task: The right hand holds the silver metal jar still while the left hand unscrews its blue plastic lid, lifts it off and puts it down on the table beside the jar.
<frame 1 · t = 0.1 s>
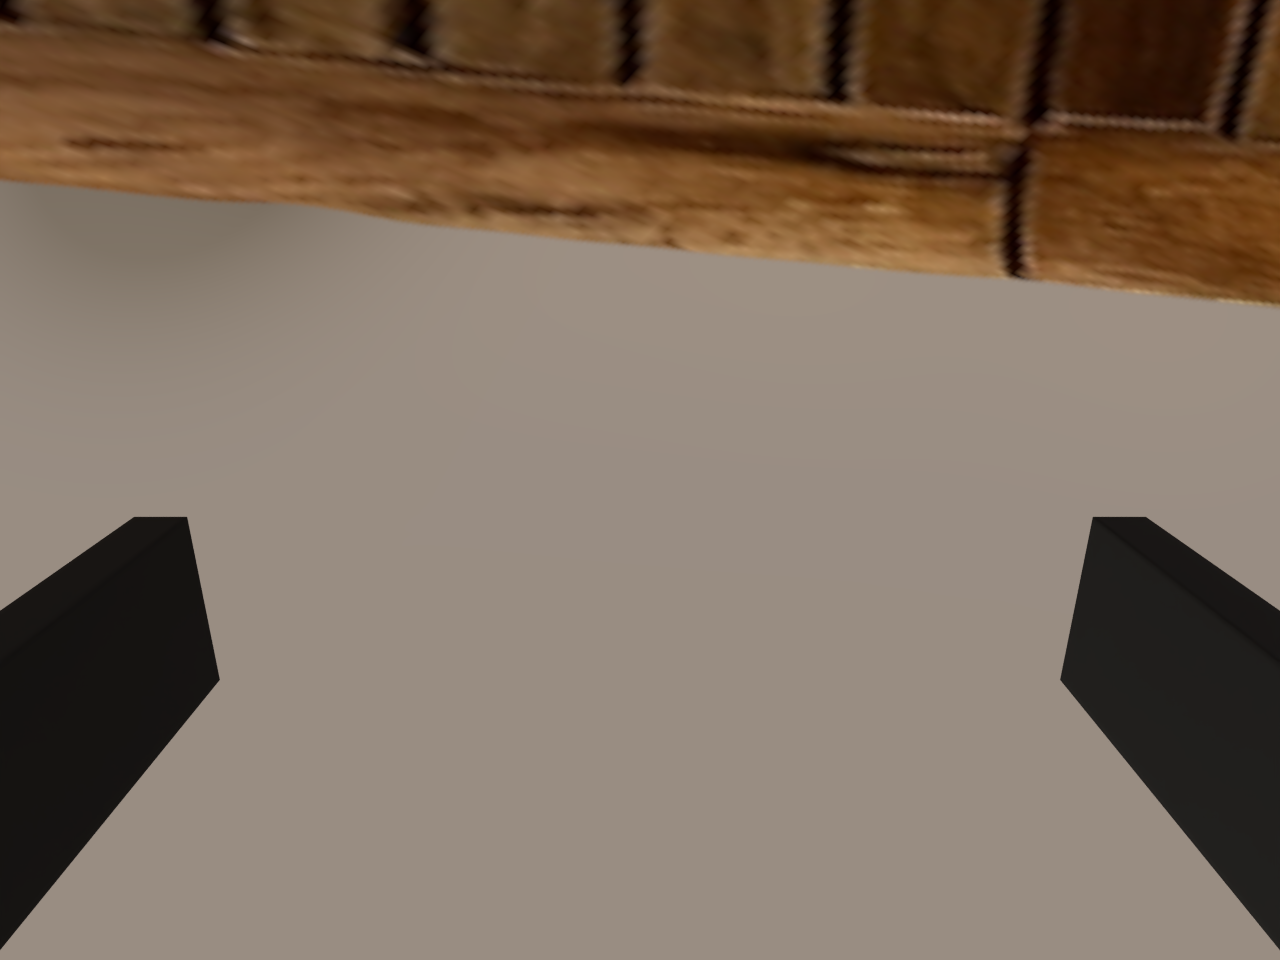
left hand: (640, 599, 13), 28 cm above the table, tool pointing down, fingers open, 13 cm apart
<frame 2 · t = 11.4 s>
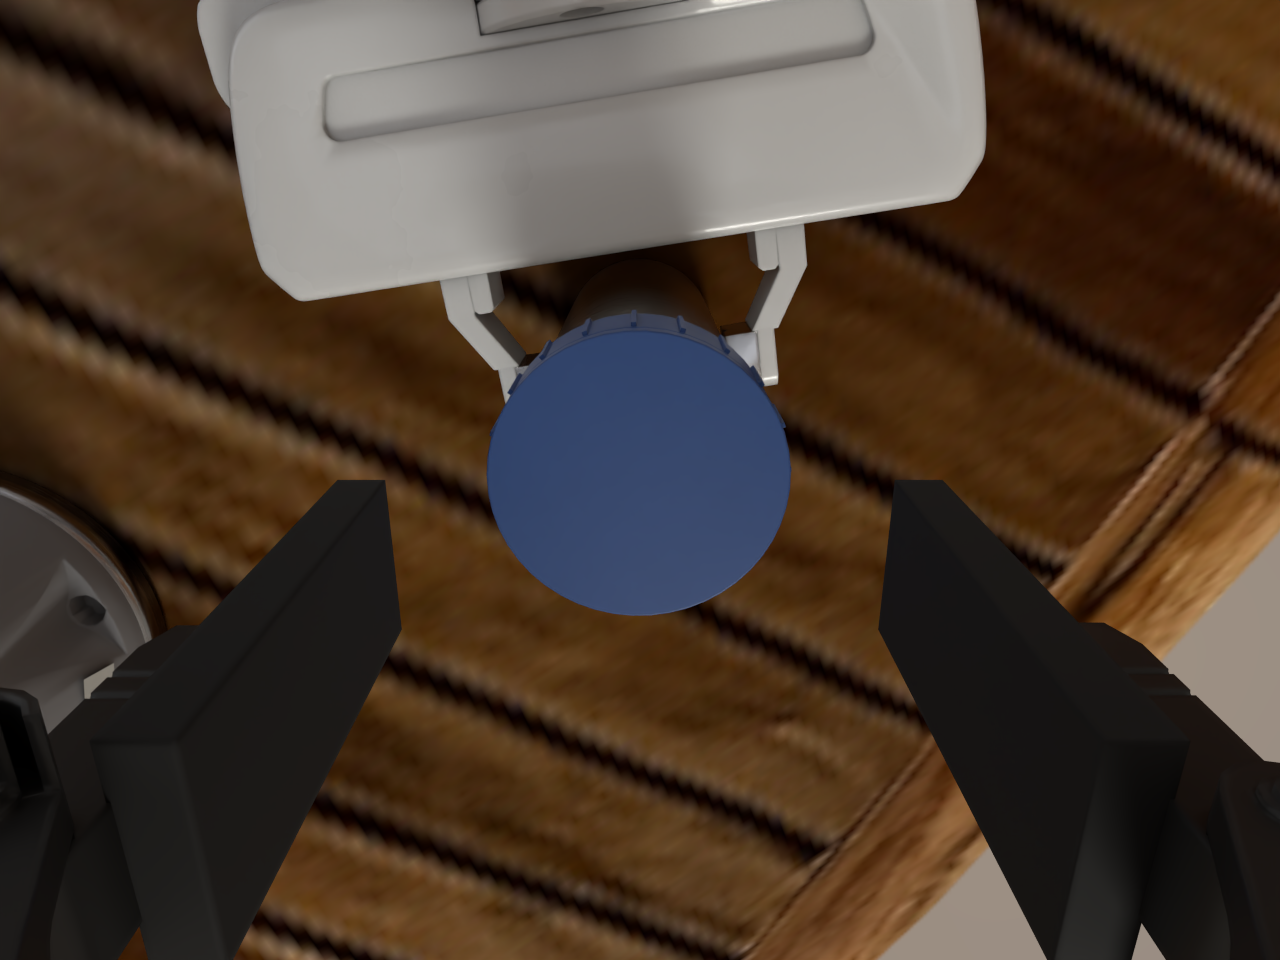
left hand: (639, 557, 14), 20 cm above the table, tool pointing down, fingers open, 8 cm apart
right hand: (645, 399, 27), fingers closed on jar, 5 cm apart
jar: (639, 331, 33), on the table, touching right hand
lid: (638, 476, 18), point 16 cm above the table, screwed on, not yet turned
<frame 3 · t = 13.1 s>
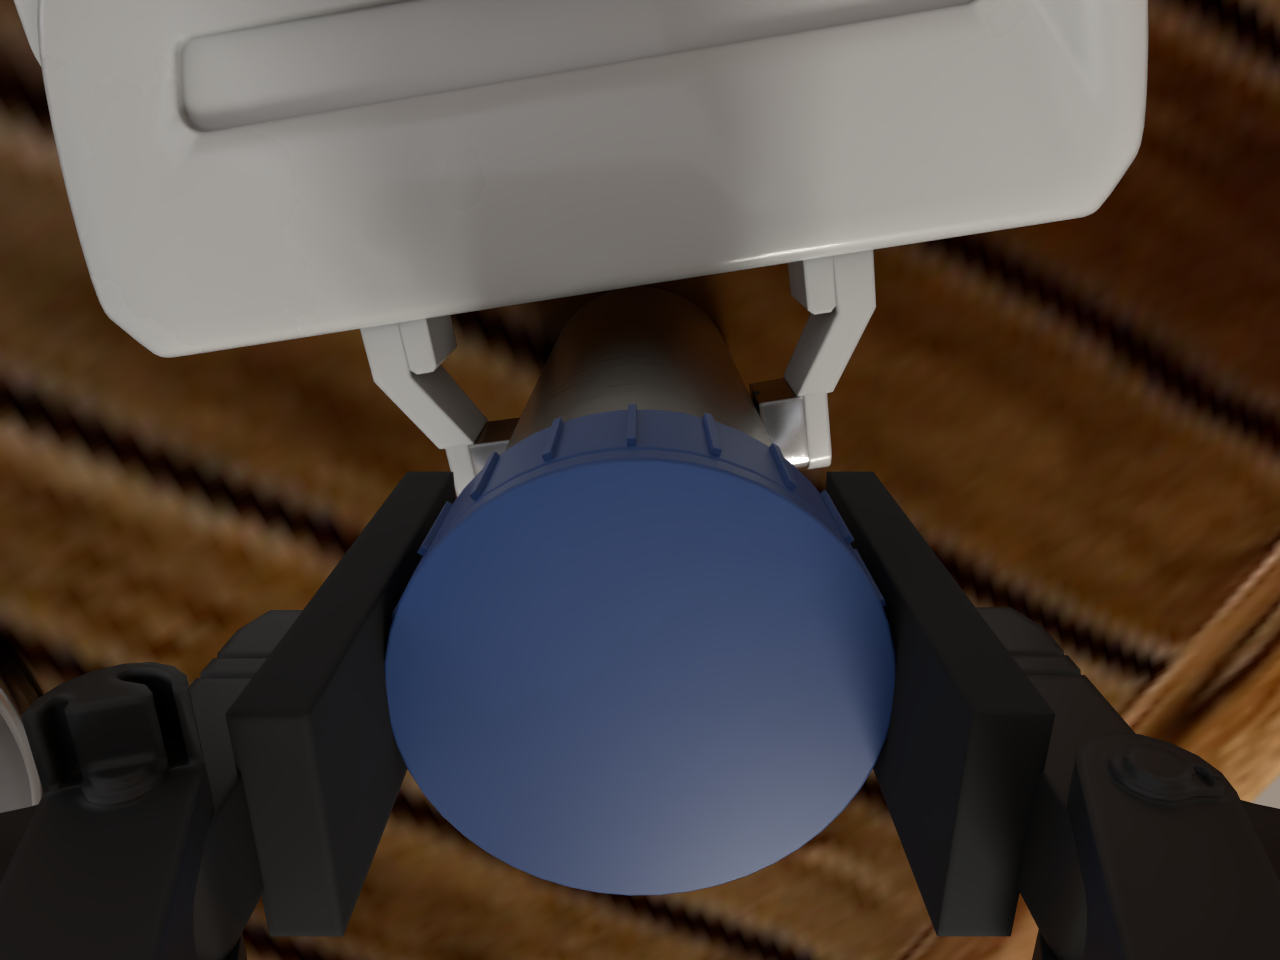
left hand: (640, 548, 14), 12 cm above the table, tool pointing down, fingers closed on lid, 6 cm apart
right hand: (647, 484, 20), fingers closed on jar, 5 cm apart
jar: (640, 377, 26), on the table, touching right hand
lid: (640, 684, 11), point 16 cm above the table, screwed on, not yet turned, touching left hand
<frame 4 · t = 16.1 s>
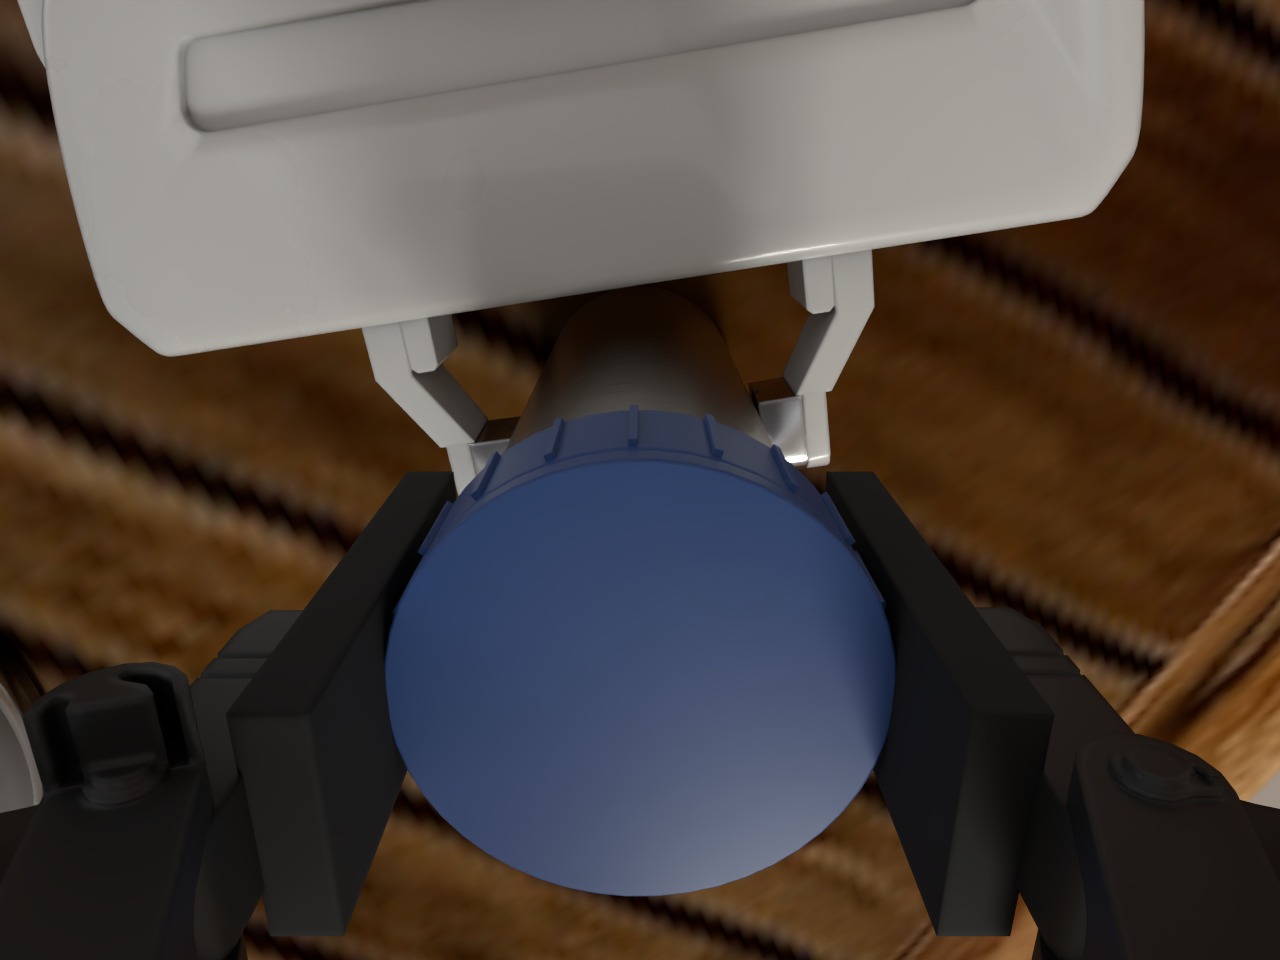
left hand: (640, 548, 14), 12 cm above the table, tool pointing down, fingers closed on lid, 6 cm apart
right hand: (647, 482, 20), fingers closed on jar, 5 cm apart
jar: (640, 376, 26), on the table, touching right hand
lid: (640, 684, 11), point 16 cm above the table, turned 90° so far, risen 0.1 cm, still on its thread, touching left hand
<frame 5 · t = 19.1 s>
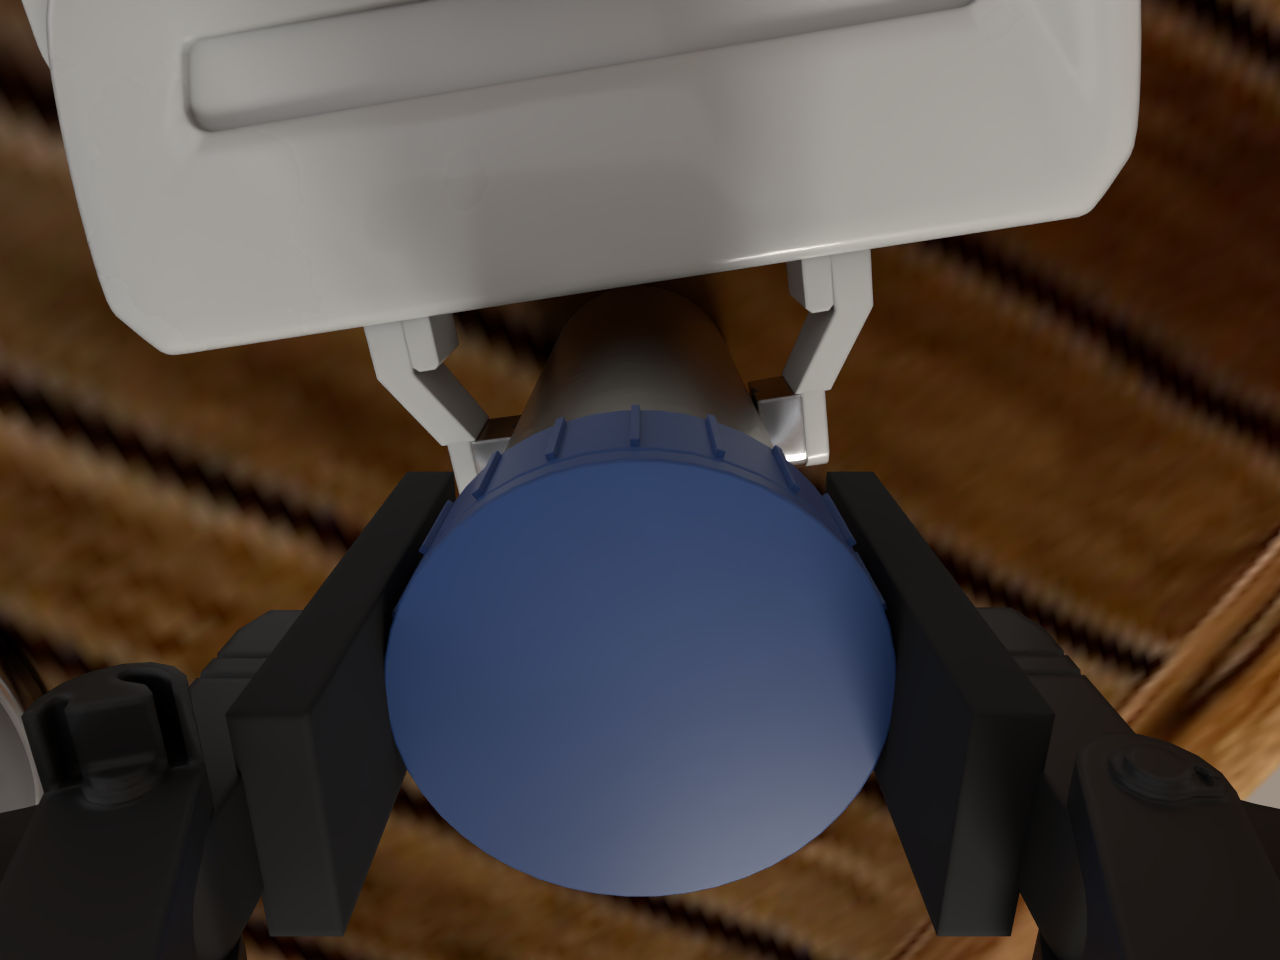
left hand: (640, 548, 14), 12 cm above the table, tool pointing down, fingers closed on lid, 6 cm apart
right hand: (647, 480, 20), fingers closed on jar, 5 cm apart
jar: (640, 376, 26), on the table, touching right hand
lid: (640, 685, 11), point 16 cm above the table, turned 179° so far, risen 0.2 cm, still on its thread, touching left hand
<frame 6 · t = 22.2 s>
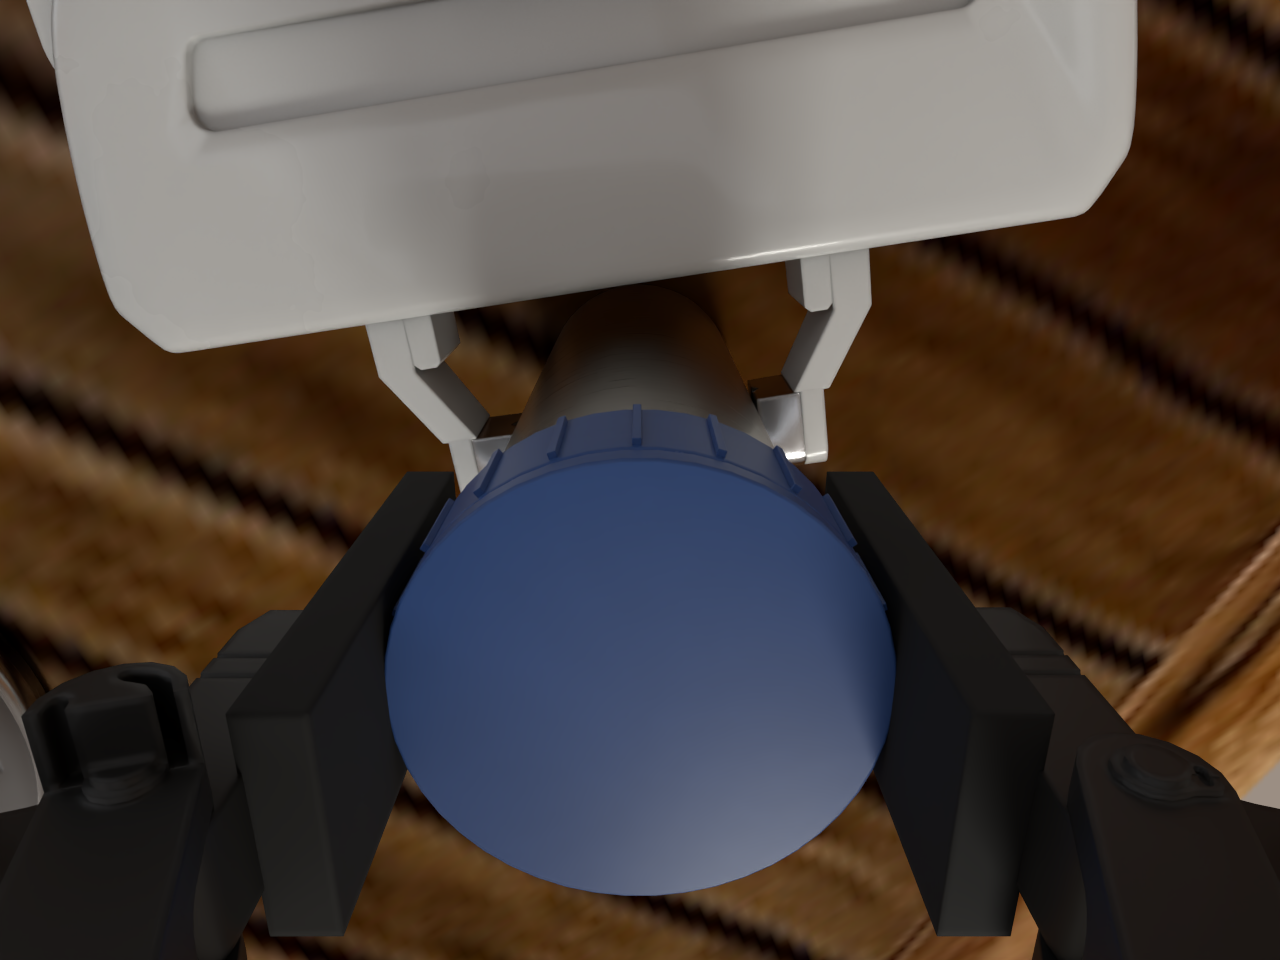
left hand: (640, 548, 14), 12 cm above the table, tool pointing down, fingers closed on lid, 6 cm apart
right hand: (647, 478, 20), fingers closed on jar, 5 cm apart
jar: (640, 374, 26), on the table, touching right hand
lid: (640, 684, 11), point 16 cm above the table, turned 269° so far, risen 0.4 cm, still on its thread, touching left hand
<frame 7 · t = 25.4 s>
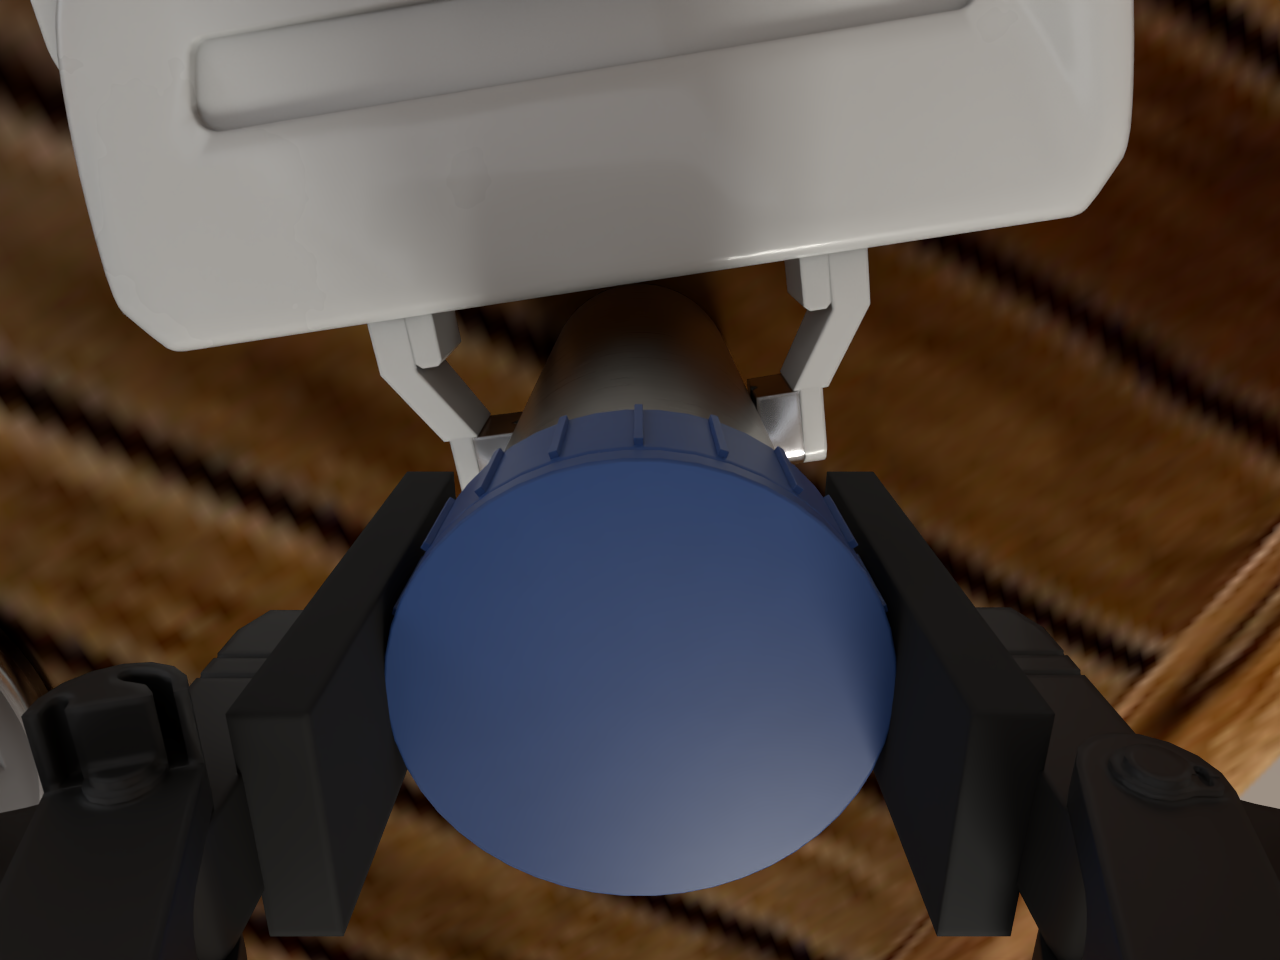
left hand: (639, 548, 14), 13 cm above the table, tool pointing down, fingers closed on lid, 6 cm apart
right hand: (647, 476, 20), fingers closed on jar, 5 cm apart
jar: (640, 373, 26), on the table, touching right hand
lid: (640, 684, 11), point 17 cm above the table, turned 359° so far, risen 0.5 cm, still on its thread, touching left hand
when the left hand's fingers open (0 cm above the table, at t = 31.8 s): lid drops 2 cm, point 2 cm above the table.
when the right hand's fingers open (7 cm above the table, at t = 32.6 s): jar stays where it is, on the table.
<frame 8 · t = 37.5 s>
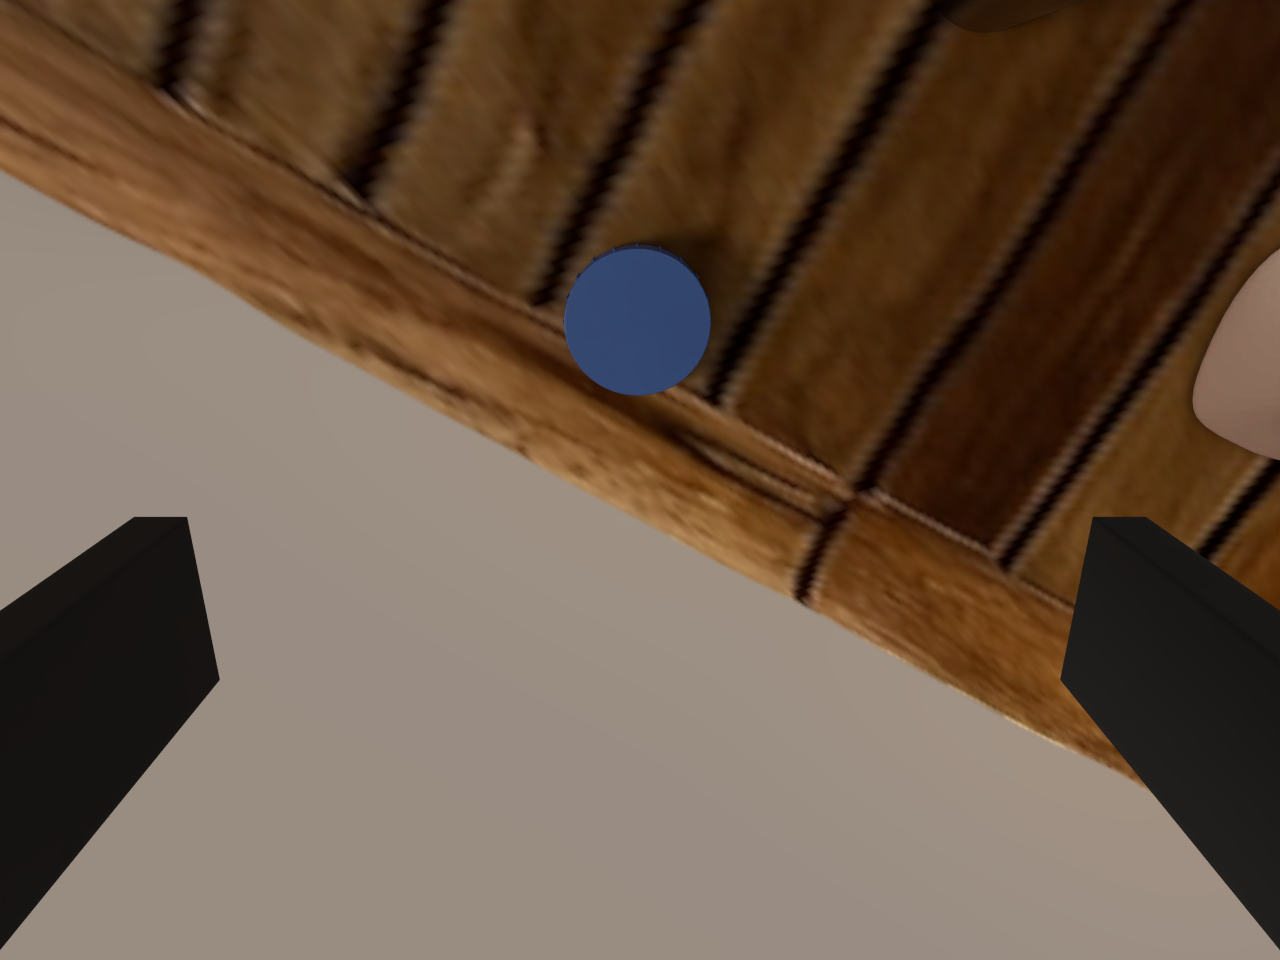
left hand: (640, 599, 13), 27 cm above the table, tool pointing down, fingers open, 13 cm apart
lid: (637, 322, 36), point 2 cm above the table, off its thread
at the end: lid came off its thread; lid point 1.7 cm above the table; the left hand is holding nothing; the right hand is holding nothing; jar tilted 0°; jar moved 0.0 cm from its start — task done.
